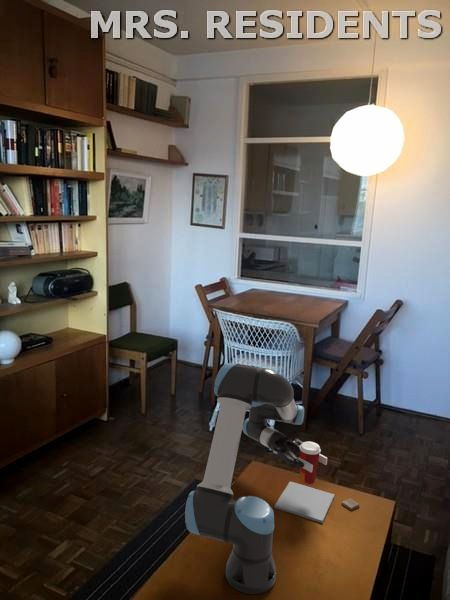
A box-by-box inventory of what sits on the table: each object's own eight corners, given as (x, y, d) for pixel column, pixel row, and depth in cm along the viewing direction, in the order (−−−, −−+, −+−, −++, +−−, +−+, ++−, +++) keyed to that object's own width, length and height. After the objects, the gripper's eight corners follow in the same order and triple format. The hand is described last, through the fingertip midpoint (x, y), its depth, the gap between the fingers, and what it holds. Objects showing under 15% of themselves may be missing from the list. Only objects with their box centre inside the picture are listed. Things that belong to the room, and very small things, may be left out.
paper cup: (320, 479, 184) (324, 444, 181) (312, 488, 178) (316, 453, 175) (301, 472, 188) (304, 438, 185) (293, 481, 182) (296, 446, 179)
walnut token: (350, 511, 181) (351, 507, 181) (341, 505, 185) (342, 501, 184) (358, 507, 184) (359, 504, 183) (349, 501, 187) (350, 497, 187)
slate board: (322, 523, 173) (322, 520, 173) (274, 507, 180) (274, 505, 180) (334, 496, 189) (334, 494, 189) (289, 483, 196) (289, 481, 196)
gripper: (290, 441, 202) (335, 465, 185) (254, 456, 188) (299, 484, 172) (292, 424, 200) (337, 447, 183) (256, 438, 187) (301, 464, 170)
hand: (319, 465), depth 177 cm, fingers closed on paper cup, 8 cm apart
